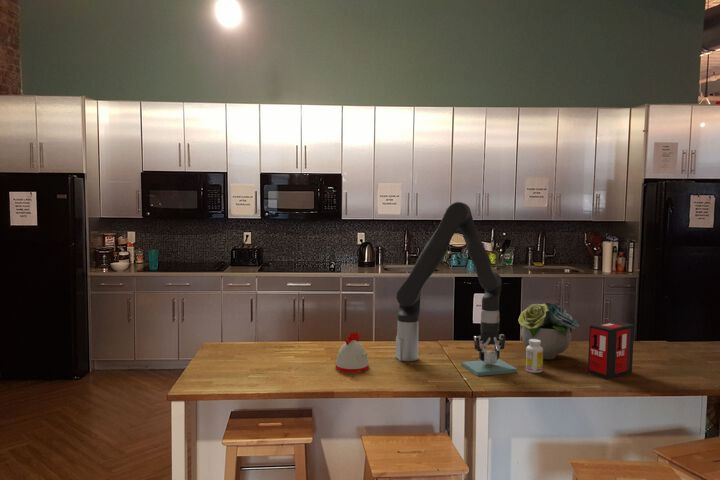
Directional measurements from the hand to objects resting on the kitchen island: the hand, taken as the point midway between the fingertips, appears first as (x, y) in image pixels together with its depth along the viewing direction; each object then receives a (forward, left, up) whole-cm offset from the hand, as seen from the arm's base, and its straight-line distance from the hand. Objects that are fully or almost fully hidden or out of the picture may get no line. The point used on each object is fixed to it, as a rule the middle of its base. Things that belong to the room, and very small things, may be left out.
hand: (489, 359), depth 224 cm
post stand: (0, 0, -4) cm, 4 cm away
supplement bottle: (+17, -7, -4) cm, 19 cm away
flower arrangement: (+33, +9, -4) cm, 34 cm away
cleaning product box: (+46, -17, -4) cm, 49 cm away
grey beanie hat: (-55, +16, -4) cm, 58 cm away
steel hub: (0, 0, -1) cm, 1 cm away
